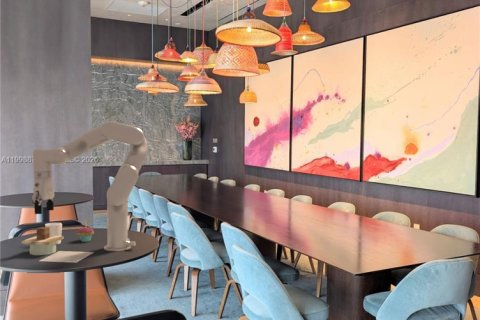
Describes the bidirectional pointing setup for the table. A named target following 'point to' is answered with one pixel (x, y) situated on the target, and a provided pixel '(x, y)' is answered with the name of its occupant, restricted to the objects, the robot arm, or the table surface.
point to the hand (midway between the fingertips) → (44, 212)
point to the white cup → (55, 230)
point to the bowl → (42, 249)
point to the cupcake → (85, 233)
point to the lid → (42, 237)
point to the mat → (66, 256)
